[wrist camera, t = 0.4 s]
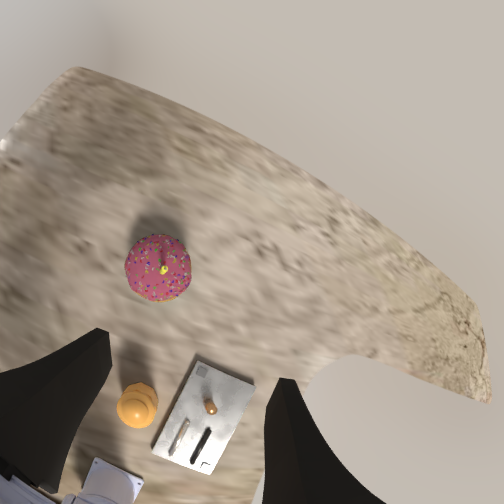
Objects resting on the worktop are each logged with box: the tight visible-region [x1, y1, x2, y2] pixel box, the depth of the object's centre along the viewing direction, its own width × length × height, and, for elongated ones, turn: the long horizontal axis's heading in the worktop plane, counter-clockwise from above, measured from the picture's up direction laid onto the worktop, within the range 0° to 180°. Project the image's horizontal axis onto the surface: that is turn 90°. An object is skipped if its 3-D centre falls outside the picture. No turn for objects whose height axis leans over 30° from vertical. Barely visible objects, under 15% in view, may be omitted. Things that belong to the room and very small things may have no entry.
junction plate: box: [152, 360, 256, 474], centre depth 31 cm, size 16×9×4 cm, turn 154°
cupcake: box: [125, 234, 191, 302], centre depth 32 cm, size 9×8×12 cm
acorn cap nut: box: [117, 382, 158, 428], centre depth 29 cm, size 5×5×7 cm
